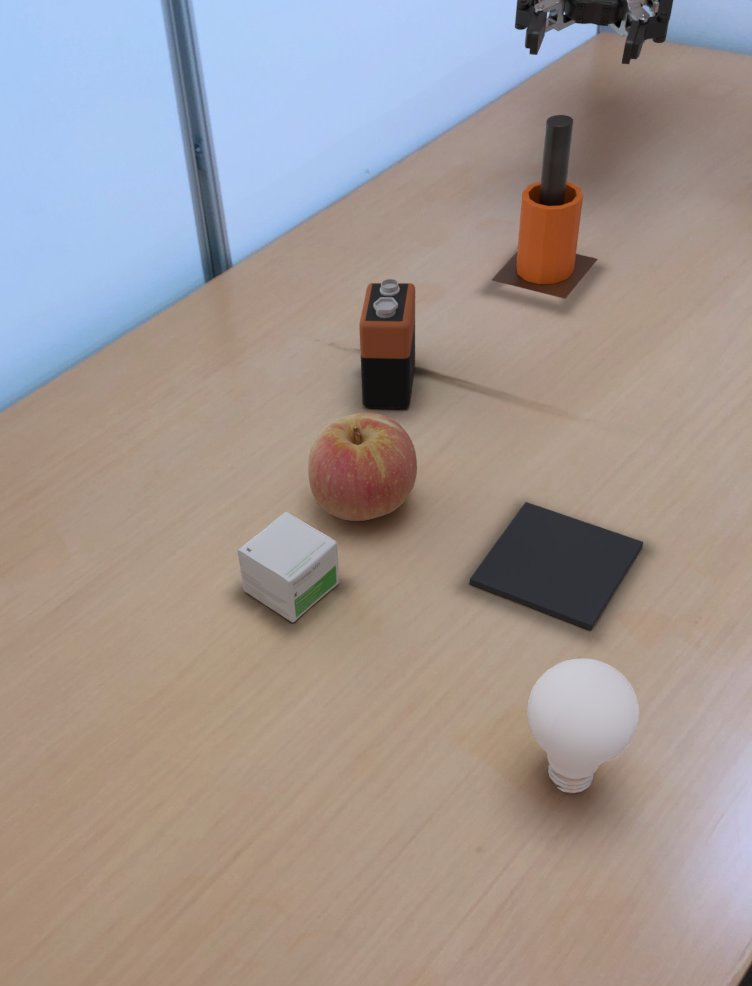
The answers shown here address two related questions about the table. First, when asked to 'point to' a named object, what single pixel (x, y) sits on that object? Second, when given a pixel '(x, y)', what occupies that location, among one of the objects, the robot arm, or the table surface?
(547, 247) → the tube
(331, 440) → the apple
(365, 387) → the battery
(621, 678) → the light bulb
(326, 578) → the small box
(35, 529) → the table surface
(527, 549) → the mat
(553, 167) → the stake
